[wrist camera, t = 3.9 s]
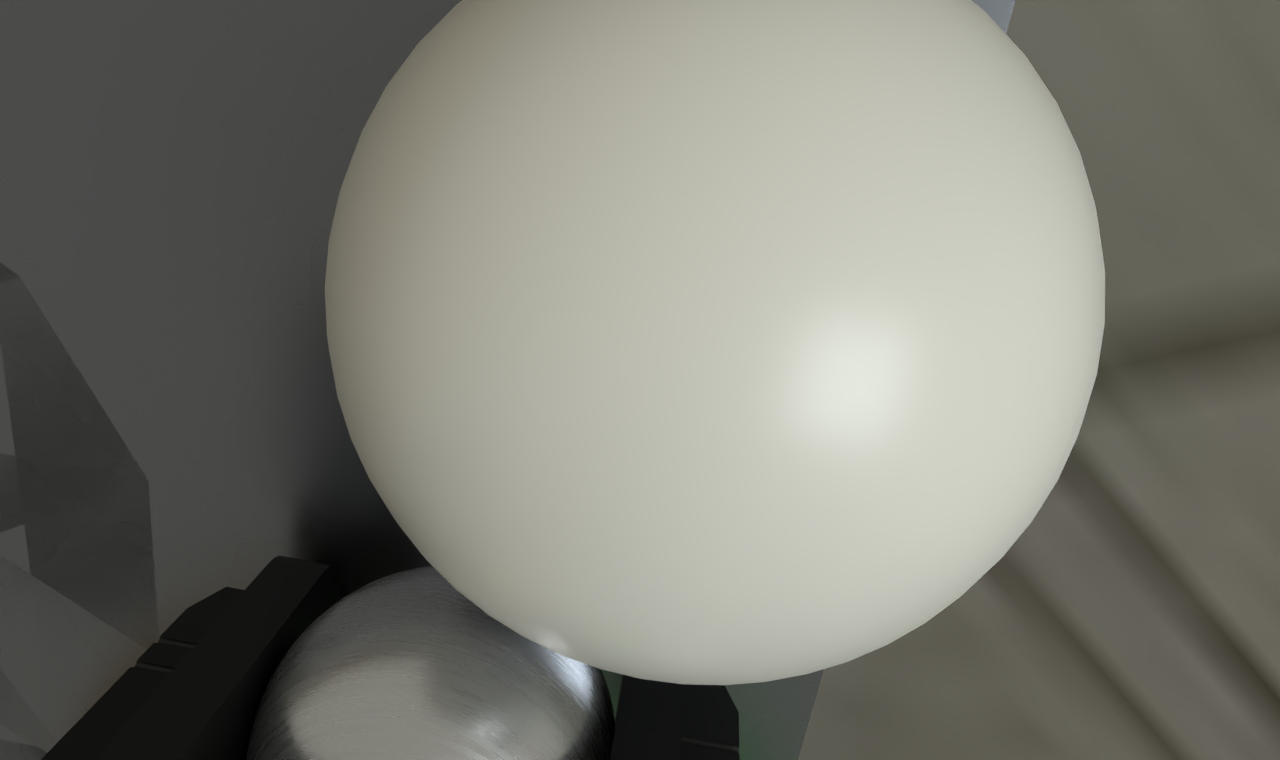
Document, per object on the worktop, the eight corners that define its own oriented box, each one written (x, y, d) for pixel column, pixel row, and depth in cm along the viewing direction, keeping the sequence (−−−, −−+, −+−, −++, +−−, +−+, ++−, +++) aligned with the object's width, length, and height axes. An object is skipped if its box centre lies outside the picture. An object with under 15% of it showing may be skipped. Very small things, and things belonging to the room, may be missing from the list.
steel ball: (654, 534, 11) (619, 787, 7) (609, 773, 12) (561, 1089, 9) (343, 478, 11) (147, 698, 7) (336, 722, 12) (170, 1011, 9)
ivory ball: (1047, 2, 8) (1596, -83, 3) (896, 505, 10) (1072, 967, 5) (478, -89, 8) (81, -317, 3) (441, 424, 10) (162, 789, 5)
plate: (960, -26, 10) (1029, -49, 8) (701, 964, 17) (697, 1108, 15) (-655, -283, 11) (-1019, -371, 9) (-305, 766, 18) (-460, 873, 15)
